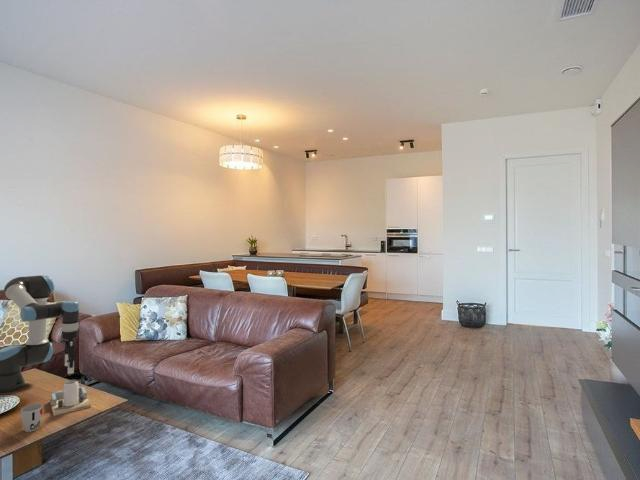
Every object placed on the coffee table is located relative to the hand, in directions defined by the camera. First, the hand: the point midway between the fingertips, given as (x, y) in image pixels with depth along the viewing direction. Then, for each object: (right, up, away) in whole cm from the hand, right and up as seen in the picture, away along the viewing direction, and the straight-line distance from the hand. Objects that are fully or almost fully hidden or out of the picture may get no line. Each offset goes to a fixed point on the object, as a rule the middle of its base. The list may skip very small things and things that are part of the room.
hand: (69, 369), depth 202 cm
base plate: (+2, -18, -2) cm, 18 cm away
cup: (+1, -18, -28) cm, 33 cm away
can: (+5, -17, -5) cm, 18 cm away
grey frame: (-1, -16, +1) cm, 16 cm away
